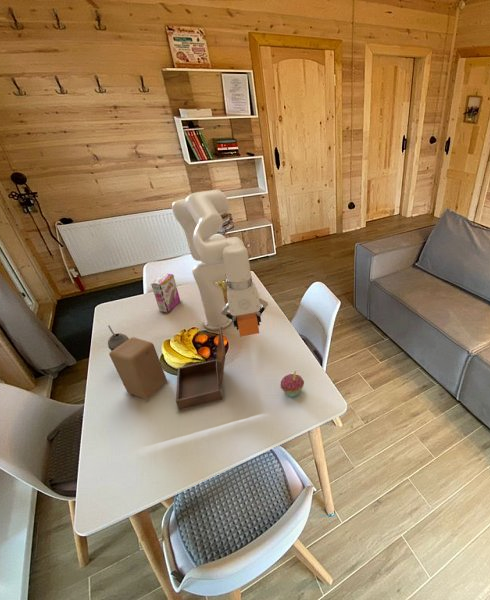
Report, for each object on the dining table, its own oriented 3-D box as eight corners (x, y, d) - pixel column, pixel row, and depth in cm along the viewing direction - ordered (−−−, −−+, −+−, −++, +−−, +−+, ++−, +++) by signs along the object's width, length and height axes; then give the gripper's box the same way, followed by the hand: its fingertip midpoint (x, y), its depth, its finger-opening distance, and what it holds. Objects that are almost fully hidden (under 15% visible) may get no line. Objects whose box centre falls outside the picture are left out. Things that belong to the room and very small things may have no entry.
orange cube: (259, 333, 119) (257, 318, 116) (240, 337, 117) (237, 321, 114) (256, 322, 124) (254, 308, 121) (238, 326, 122) (235, 311, 119)
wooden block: (168, 382, 129) (153, 341, 118) (147, 401, 121) (129, 360, 110) (148, 375, 131) (132, 335, 121) (126, 393, 123) (106, 352, 113)
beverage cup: (130, 373, 132) (112, 333, 121) (114, 370, 133) (94, 330, 123) (143, 360, 138) (127, 321, 127) (128, 357, 139) (110, 319, 129)
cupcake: (308, 388, 128) (307, 365, 122) (296, 403, 122) (294, 380, 115) (289, 380, 131) (287, 357, 125) (276, 395, 125) (273, 372, 118)
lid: (223, 356, 112) (225, 356, 113) (219, 326, 126) (222, 326, 126) (218, 389, 119) (221, 389, 119) (216, 358, 132) (218, 358, 133)
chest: (179, 411, 117) (175, 401, 115) (181, 377, 131) (177, 367, 128) (222, 400, 122) (220, 390, 119) (219, 368, 136) (217, 359, 133)
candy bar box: (168, 313, 167) (159, 284, 158) (159, 312, 168) (149, 283, 159) (181, 301, 176) (173, 273, 168) (172, 300, 177) (164, 272, 168)
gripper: (212, 292, 105) (223, 336, 114) (268, 283, 110) (274, 326, 120) (212, 281, 110) (222, 324, 120) (265, 273, 116) (270, 315, 125)
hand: (248, 325), depth 120 cm, fingers closed on orange cube, 6 cm apart
